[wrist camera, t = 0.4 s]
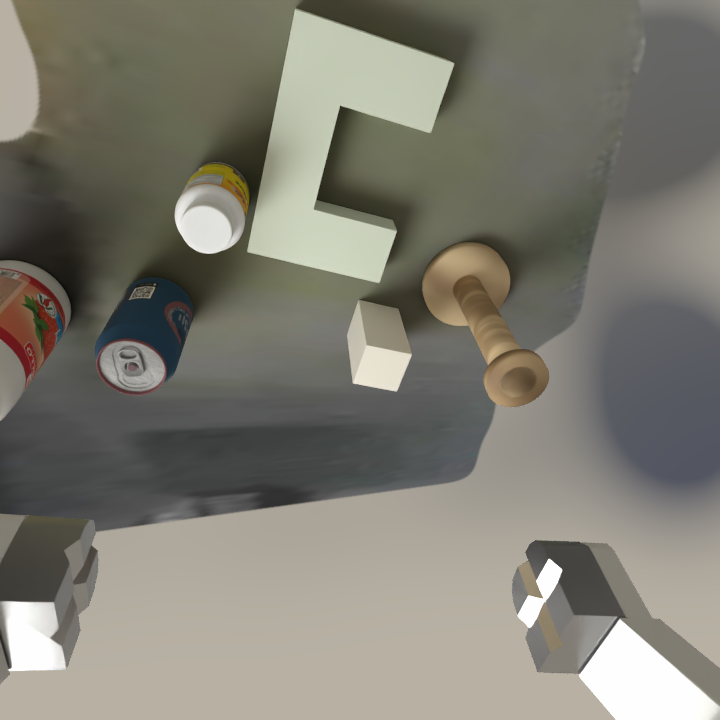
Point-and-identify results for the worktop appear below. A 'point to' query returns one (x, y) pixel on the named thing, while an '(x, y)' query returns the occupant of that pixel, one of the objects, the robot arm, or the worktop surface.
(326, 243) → the notched board
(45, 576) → the robot arm
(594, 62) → the worktop surface
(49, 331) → the fruit juice
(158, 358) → the soda can
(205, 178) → the supplement bottle
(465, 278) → the bobbin post
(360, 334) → the block
